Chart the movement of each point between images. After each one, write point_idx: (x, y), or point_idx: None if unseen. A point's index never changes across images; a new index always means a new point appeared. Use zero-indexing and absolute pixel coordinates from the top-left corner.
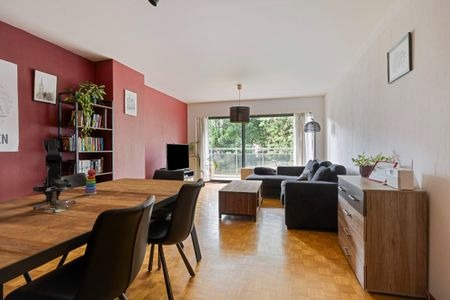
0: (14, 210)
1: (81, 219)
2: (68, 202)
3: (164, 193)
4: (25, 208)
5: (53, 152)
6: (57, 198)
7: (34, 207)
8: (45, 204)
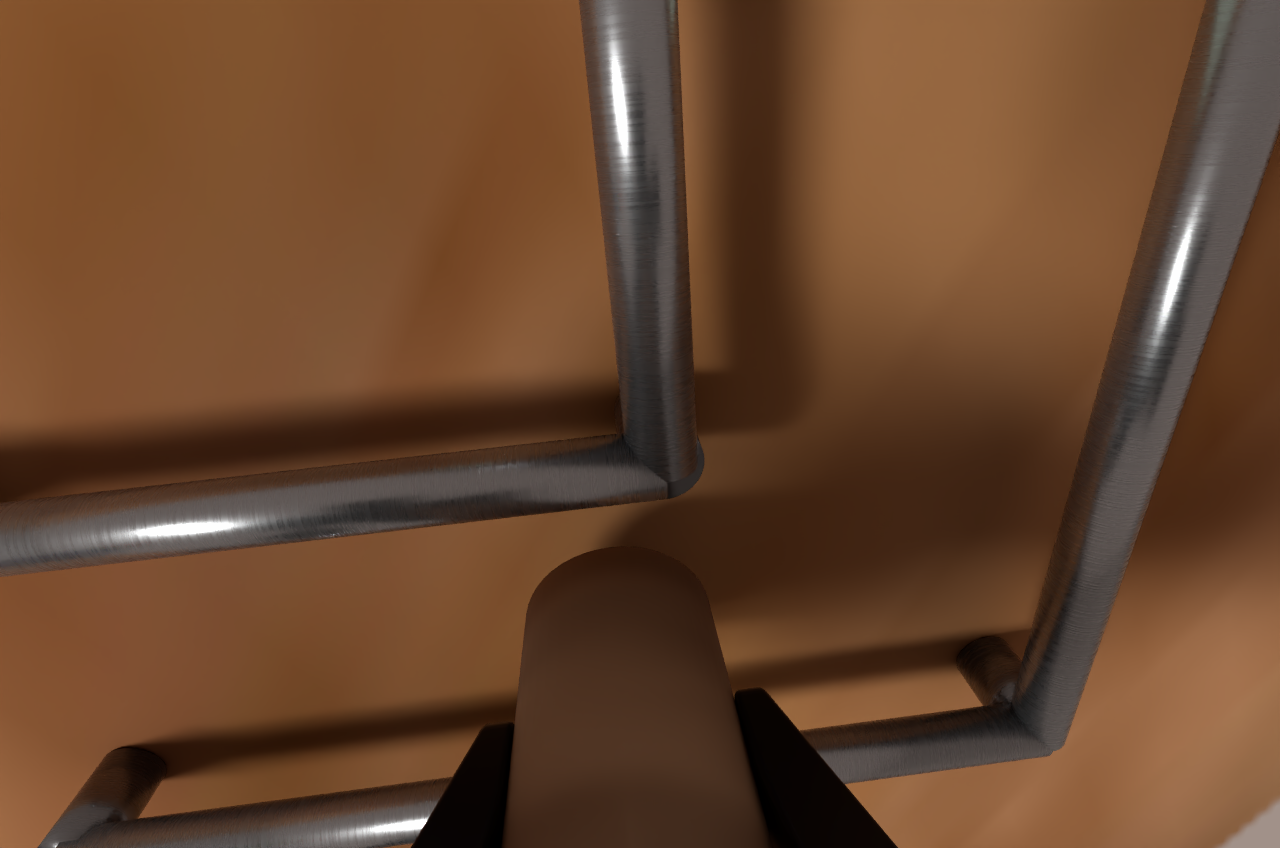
0: (1116, 831)
1: None
2: (127, 491)
3: None
4: (952, 841)
5: None
6: (470, 803)
7: None
8: None
